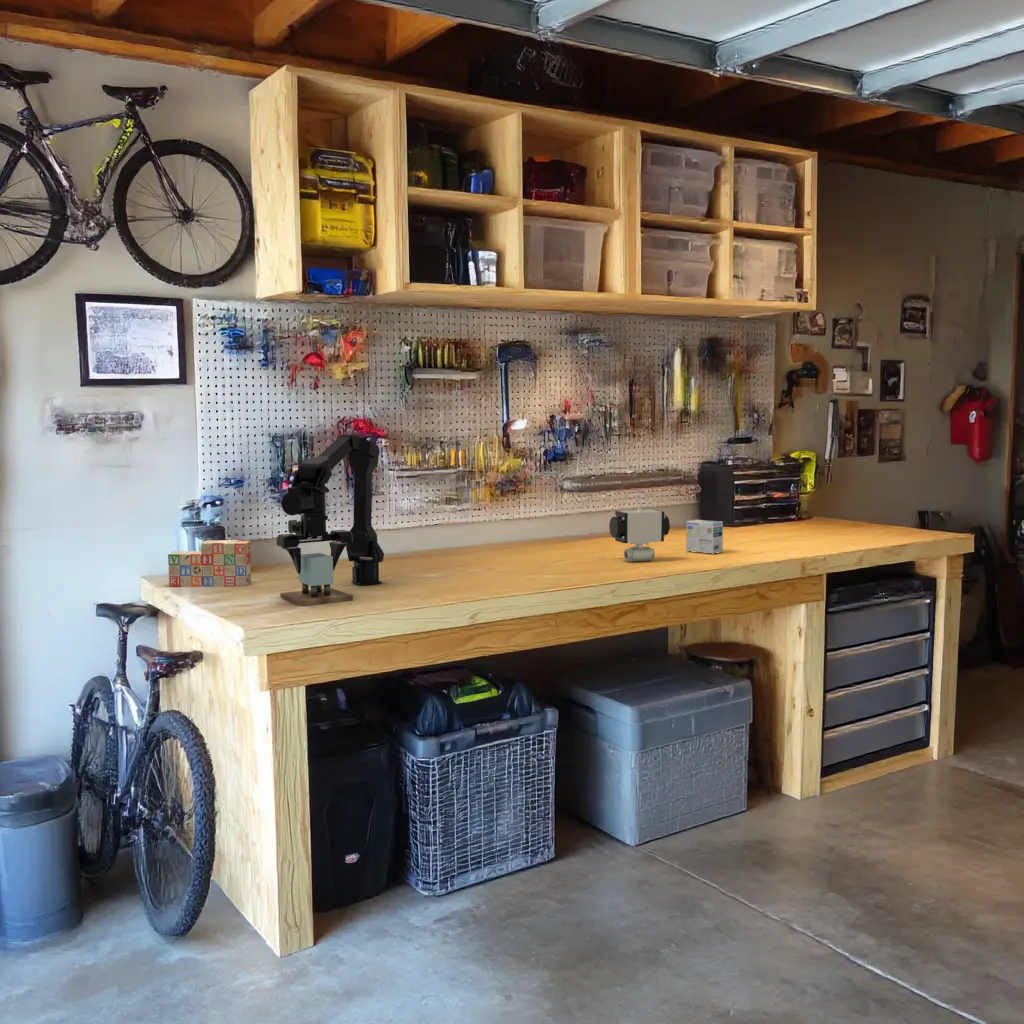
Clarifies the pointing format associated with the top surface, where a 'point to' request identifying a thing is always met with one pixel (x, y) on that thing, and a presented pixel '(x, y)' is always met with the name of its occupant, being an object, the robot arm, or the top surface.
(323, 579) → the teal block
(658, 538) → the ball valve
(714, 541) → the light bulb box
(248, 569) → the stack of blocks
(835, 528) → the top surface
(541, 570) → the top surface
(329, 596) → the peg stand
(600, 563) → the top surface
